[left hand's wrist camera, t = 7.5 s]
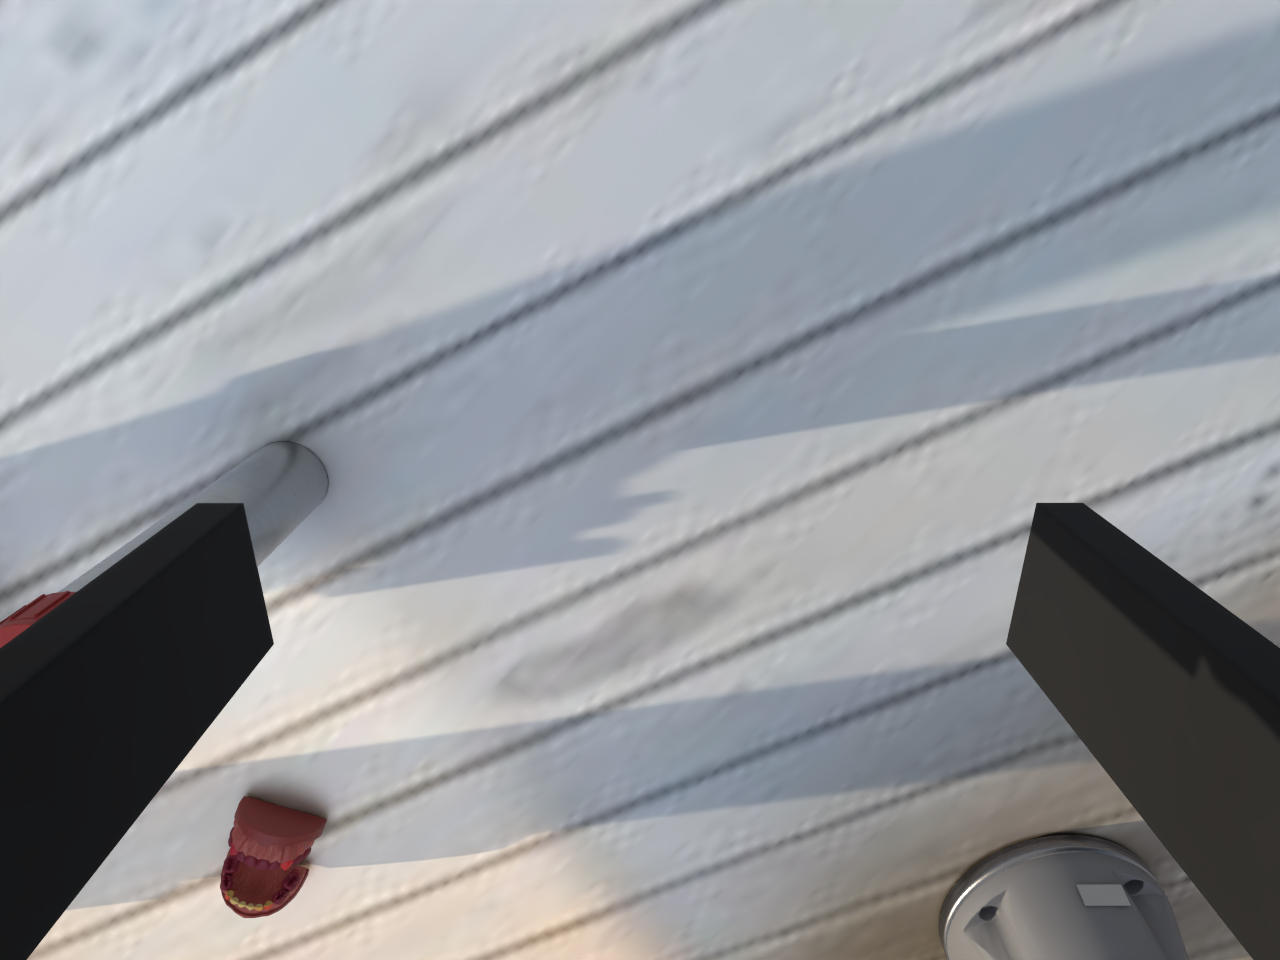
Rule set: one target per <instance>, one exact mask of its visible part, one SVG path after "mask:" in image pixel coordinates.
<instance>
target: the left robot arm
mask: <svg viewBox="0 0 1280 960" xmlns="http://www.w3.org/2000/svg"><path fill="white" fill-rule="evenodd" d="M273 644H274V643H273V638H272V634H271V629H270V624H269V620H268V615H267V610H266V606H265V601H264V596H263V592H262V587H261V582H260V578H259V573H258V568H257V564H256V559H255V555H254V550H253V545H252V541H251V536H250V531H249V527H248V522H247V517H246V513H245V508H244V503H196V504H195V505H194V506H192V507H191V508H190V509H188V510H187V511H186V512H184V513H183V514H182V515H180V516H179V517H177V518H176V519H175V520H173V521H172V522H171V523H169V524H168V525H167V526H165V527H164V528H163V529H161V530H160V531H159V532H157V533H156V534H154V535H153V536H152V537H150V538H149V539H148V540H146V541H145V542H144V543H142V544H141V545H140V546H138V547H137V548H135V549H134V550H133V551H131V552H130V553H129V554H127V555H126V556H125V557H123V558H122V559H121V560H119V561H118V562H116V563H115V564H114V565H112V566H111V567H110V568H108V569H107V570H106V571H104V572H103V573H102V574H100V575H99V576H98V577H96V578H95V579H93V580H92V581H91V582H89V583H88V584H87V585H85V586H84V587H83V588H81V589H80V590H79V591H77V592H76V593H74V594H73V595H72V596H70V597H69V598H68V599H66V600H65V601H64V602H62V603H61V604H60V605H58V606H57V607H55V608H54V609H53V610H51V611H50V612H49V613H47V614H46V615H45V616H43V617H42V618H41V619H39V620H38V621H37V622H35V623H34V624H32V625H31V626H30V627H28V628H27V629H26V630H24V631H23V632H22V633H20V634H19V635H18V636H16V637H15V638H13V639H12V640H11V641H9V642H8V643H7V644H5V645H4V646H3V647H1V648H0V960H27V958H28V957H29V956H30V955H31V953H32V952H33V951H34V949H35V948H36V947H37V946H38V944H39V943H40V942H41V940H42V939H43V938H44V937H45V935H46V934H47V933H48V932H49V930H50V929H51V928H52V926H53V925H54V924H55V923H56V921H57V920H58V919H59V917H60V916H61V915H62V914H63V912H64V911H65V910H66V909H67V907H68V906H69V905H70V903H71V902H72V901H73V900H74V898H75V897H76V896H77V895H78V893H79V892H80V891H81V889H82V888H83V887H84V886H85V884H86V883H87V882H88V880H89V879H90V878H91V877H92V875H93V874H94V873H95V872H96V870H97V869H98V868H99V866H100V865H101V864H102V863H103V861H104V860H105V859H106V857H107V856H108V855H109V854H110V852H111V851H112V850H113V849H114V847H115V846H116V845H117V843H118V842H119V841H120V840H121V838H122V837H123V836H124V834H125V833H126V832H127V831H128V829H129V828H130V827H131V826H132V824H133V823H134V822H135V820H136V819H137V818H138V817H139V815H140V814H141V813H142V812H143V810H144V809H145V808H146V806H147V805H148V804H149V803H150V801H151V800H152V799H153V797H154V796H155V795H156V794H157V792H158V791H159V790H160V789H161V787H162V786H163V785H164V783H165V782H166V781H167V780H168V778H169V777H170V776H171V774H172V773H173V772H174V771H175V769H176V768H177V767H178V766H179V764H180V763H181V762H182V760H183V759H184V758H185V757H186V755H187V754H188V753H189V752H190V750H191V749H192V748H193V746H194V745H195V744H196V743H197V741H198V740H199V739H200V737H201V736H202V735H203V734H204V732H205V731H206V730H207V729H208V727H209V726H210V725H211V723H212V722H213V721H214V720H215V718H216V717H217V716H218V714H219V713H220V712H221V711H222V709H223V708H224V707H225V706H226V704H227V703H228V702H229V700H230V699H231V698H232V697H233V695H234V694H235V693H236V691H237V690H238V689H239V688H240V686H241V685H242V684H243V683H244V681H245V680H246V679H247V677H248V676H249V675H250V674H251V672H252V671H253V670H254V669H255V667H256V666H257V665H258V663H259V662H260V661H261V660H262V658H263V657H264V656H265V654H266V653H267V652H268V651H269V649H270V648H271V647H272V646H273ZM1006 644H1007V646H1008V647H1009V648H1010V649H1011V651H1012V652H1013V653H1014V654H1015V656H1016V657H1017V658H1018V660H1019V661H1020V662H1021V663H1022V665H1023V666H1024V667H1025V669H1026V670H1027V671H1028V672H1029V674H1030V675H1031V676H1032V677H1033V679H1034V680H1035V681H1036V683H1037V684H1038V685H1039V686H1040V688H1041V689H1042V690H1043V691H1044V693H1045V694H1046V695H1047V697H1048V698H1049V699H1050V700H1051V702H1052V703H1053V704H1054V706H1055V707H1056V708H1057V709H1058V711H1059V712H1060V713H1061V714H1062V716H1063V717H1064V718H1065V720H1066V721H1067V722H1068V723H1069V725H1070V726H1071V727H1072V729H1073V730H1074V731H1075V732H1076V734H1077V735H1078V736H1079V737H1080V739H1081V740H1082V741H1083V743H1084V744H1085V745H1086V746H1087V748H1088V749H1089V750H1090V752H1091V753H1092V754H1093V755H1094V757H1095V758H1096V759H1097V760H1098V762H1099V763H1100V764H1101V766H1102V767H1103V768H1104V769H1105V771H1106V772H1107V773H1108V774H1109V776H1110V777H1111V778H1112V780H1113V781H1114V782H1115V783H1116V785H1117V786H1118V787H1119V789H1120V790H1121V791H1122V792H1123V794H1124V795H1125V796H1126V797H1127V799H1128V800H1129V801H1130V803H1131V804H1132V805H1133V806H1134V808H1135V809H1136V810H1137V812H1138V813H1139V814H1140V815H1141V817H1142V818H1143V819H1144V820H1145V822H1146V823H1147V824H1148V826H1149V827H1150V828H1151V829H1152V831H1153V832H1154V833H1155V835H1156V836H1157V837H1158V838H1159V840H1160V841H1161V842H1162V843H1163V845H1164V846H1165V847H1166V849H1167V850H1168V851H1169V852H1170V854H1171V855H1172V856H1173V857H1174V859H1175V860H1176V861H1177V863H1178V864H1179V865H1180V866H1181V868H1182V869H1183V870H1184V872H1185V873H1186V874H1187V875H1188V877H1189V878H1190V879H1191V880H1192V882H1193V883H1194V884H1195V886H1196V887H1197V888H1198V889H1199V891H1200V892H1201V893H1202V895H1203V896H1204V897H1205V898H1206V900H1207V901H1208V902H1209V903H1210V905H1211V906H1212V907H1213V909H1214V910H1215V911H1216V912H1217V914H1218V915H1219V916H1220V917H1221V919H1222V920H1223V921H1224V923H1225V924H1226V925H1227V926H1228V928H1229V929H1230V930H1231V932H1232V933H1233V934H1234V935H1235V937H1236V938H1237V939H1238V940H1239V942H1240V943H1241V944H1242V946H1243V947H1244V948H1245V949H1246V951H1247V952H1248V953H1249V955H1250V956H1251V957H1252V958H1253V960H1280V648H1279V647H1277V646H1276V645H1275V644H1273V643H1272V642H1271V641H1269V640H1268V639H1267V638H1265V637H1264V636H1262V635H1261V634H1260V633H1258V632H1257V631H1256V630H1254V629H1253V628H1252V627H1250V626H1249V625H1248V624H1246V623H1245V622H1243V621H1242V620H1241V619H1239V618H1238V617H1237V616H1235V615H1234V614H1233V613H1231V612H1230V611H1229V610H1227V609H1226V608H1225V607H1223V606H1222V605H1220V604H1219V603H1218V602H1216V601H1215V600H1214V599H1212V598H1211V597H1210V596H1208V595H1207V594H1206V593H1204V592H1203V591H1201V590H1200V589H1199V588H1197V587H1196V586H1195V585H1193V584H1192V583H1191V582H1189V581H1188V580H1187V579H1185V578H1184V577H1182V576H1181V575H1180V574H1178V573H1177V572H1176V571H1174V570H1173V569H1172V568H1170V567H1169V566H1168V565H1166V564H1165V563H1164V562H1162V561H1161V560H1159V559H1158V558H1157V557H1155V556H1154V555H1153V554H1151V553H1150V552H1149V551H1147V550H1146V549H1145V548H1143V547H1142V546H1140V545H1139V544H1138V543H1136V542H1135V541H1134V540H1132V539H1131V538H1130V537H1128V536H1127V535H1126V534H1124V533H1123V532H1121V531H1120V530H1119V529H1117V528H1116V527H1115V526H1113V525H1112V524H1111V523H1109V522H1108V521H1107V520H1105V519H1104V518H1103V517H1101V516H1100V515H1098V514H1097V513H1096V512H1094V511H1093V510H1092V509H1090V508H1089V507H1088V506H1086V505H1085V504H1084V503H1036V508H1035V513H1034V517H1033V522H1032V527H1031V531H1030V536H1029V541H1028V545H1027V550H1026V555H1025V559H1024V564H1023V568H1022V573H1021V578H1020V582H1019V587H1018V592H1017V596H1016V601H1015V606H1014V610H1013V615H1012V620H1011V624H1010V629H1009V634H1008V638H1007V643H1006ZM939 935H940V939H941V942H942V945H943V947H944V950H945V953H946V955H947V958H948V960H1189V958H1188V955H1187V952H1186V949H1185V946H1184V943H1183V940H1182V937H1181V934H1180V931H1179V928H1178V925H1177V922H1176V920H1175V917H1174V914H1173V911H1172V908H1171V905H1170V903H1169V901H1168V899H1167V897H1166V895H1165V893H1164V891H1163V889H1162V887H1161V886H1160V884H1159V883H1158V881H1157V880H1156V879H1155V877H1154V876H1153V875H1152V873H1151V872H1150V871H1149V869H1148V868H1147V867H1146V865H1145V864H1144V863H1143V862H1142V861H1141V860H1140V859H1139V858H1138V857H1137V856H1136V855H1135V854H1133V853H1132V852H1131V851H1129V850H1127V849H1126V848H1124V847H1122V846H1120V845H1118V844H1116V843H1113V842H1110V841H1107V840H1104V839H1100V838H1096V837H1090V836H1083V835H1055V836H1046V837H1040V838H1035V839H1031V840H1027V841H1023V842H1020V843H1017V844H1014V845H1011V846H1009V847H1006V848H1004V849H1002V850H1000V851H997V852H995V853H994V854H992V855H990V856H988V857H986V858H985V859H983V860H982V861H980V862H979V863H977V864H976V865H975V866H973V867H972V868H971V869H970V870H969V871H967V872H966V873H965V874H964V875H963V876H962V877H961V878H960V879H959V880H958V881H957V883H956V884H955V885H954V886H953V888H952V889H951V890H950V892H949V894H948V895H947V897H946V899H945V901H944V903H943V906H942V909H941V912H940V917H939Z"/></svg>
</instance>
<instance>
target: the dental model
mask: <svg viewBox="0 0 1280 960" xmlns="http://www.w3.org/2000/svg"><path fill="white" fill-rule="evenodd" d="M326 821H327V820H326V819H324V818H320V817H317V816H314V815H310V814H307V813H303V812H300V811H297V810H293V809H290V808H286V807H283V806H279V805H276V804H272V803H269V802H265V801H261V800H258V799H254V798H251V797H247V796H244V797H243V798H242V800H241V801H240V803H239V805H238V808H237V811H236V813H235V820H234V827H233V828H232V830H231V832H230V837H229V840H228V843H229V846H230V847H231V848H230V850H229V852H228V855H227V857H226V859H225V861H224V865H223V869H222V874H221V884H220V889H221V892H222V896H223V899H224V901H225V903H226V905H227V906H229V907H230V908H231V909H232V910H233V911H234V912H235V913H237V914H238V915H240V916H241V917H243V918H257V917H262V916H269V915H271V914H273V913H275V912H277V911H279V910H281V909H282V908H284V907H285V906H286V905H287V904H288V903H289V902H290V901H291V900H292V899H293V898H294V897H295V896H296V895H297V893H298V892H299V890H300V889H301V887H302V885H303V884H304V882H305V880H306V878H307V876H308V872H309V869H307V868H305V867H301V866H297V865H296V864H297V863H300V862H301V861H302V860H304V859H305V858H306V857H307V856H308V855H309V854H310V852H311V846H312V845H313V843H314V840H315V839H317V838H318V837H320V836H321V834H322V832H323V829H324V826H325V824H326ZM292 864H295V865H292Z"/></svg>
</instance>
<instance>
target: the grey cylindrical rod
mask: <svg viewBox="0 0 1280 960" xmlns="http://www.w3.org/2000/svg"><path fill="white" fill-rule="evenodd" d="M327 489H328V477H327V473H326V470H325V468H324V466H323V464H322V462H321V461H320V460H319V458H318V457H317V456H316V455H315V454H314V453H313V452H311V451H310V450H308V449H307V448H305V447H303V446H301V445H299V444H295V443H291V442H274V443H271V444H268V445H266V446H264V447H263V448H261V449H260V450H259V451H257V452H256V453H254V454H253V455H251V456H250V457H249V458H247V459H246V460H244V461H243V462H242V463H240V464H239V465H237V466H236V467H235V468H233V469H232V470H230V471H229V472H227V473H226V474H225V475H223V476H222V477H220V478H219V479H218V480H216V481H215V482H213V483H212V484H210V485H209V486H208V487H206V488H205V489H203V490H202V491H201V492H199V493H198V494H196V495H195V496H194V497H192V498H191V499H189V500H188V501H186V502H185V503H184V504H182V505H181V506H179V507H178V508H177V509H175V510H174V511H172V512H171V513H170V514H168V515H167V516H165V517H164V518H162V519H161V520H160V521H158V522H157V523H155V524H154V525H153V526H151V527H150V528H148V529H147V530H146V531H144V532H143V533H141V534H140V535H138V536H137V537H136V538H134V539H133V540H131V541H130V542H129V543H127V544H126V545H124V546H123V547H122V548H120V549H119V550H117V551H116V552H114V553H113V554H112V555H110V556H109V557H107V558H106V559H105V560H103V561H102V562H100V563H99V564H98V565H96V566H95V567H93V568H92V569H90V570H89V571H88V572H86V573H85V574H83V575H82V576H81V577H79V578H78V579H76V580H75V581H74V582H72V583H71V584H69V585H68V586H66V587H65V588H64V589H62V590H61V591H59V592H65V591H69V592H77V591H79V590H80V589H81V588H83V587H84V586H85V585H87V584H88V583H89V582H91V581H92V580H93V579H95V578H96V577H98V576H99V575H100V574H102V573H103V572H104V571H106V570H107V569H108V568H110V567H111V566H112V565H114V564H115V563H116V562H118V561H119V560H121V559H122V558H123V557H125V556H126V555H127V554H129V553H130V552H131V551H133V550H134V549H135V548H137V547H138V546H140V545H141V544H142V543H144V542H145V541H146V540H148V539H149V538H150V537H152V536H153V535H154V534H156V533H157V532H159V531H160V530H161V529H163V528H164V527H165V526H167V525H168V524H169V523H171V522H172V521H173V520H175V519H176V518H177V517H179V516H180V515H182V514H183V513H184V512H186V511H187V510H188V509H190V508H191V507H192V506H194V505H195V504H196V503H244V508H245V513H246V517H247V522H248V527H249V531H250V536H251V541H252V545H253V550H254V555H255V559H256V564H257V567H258V566H259V565H260V564H261V563H262V562H263V561H264V560H265V559H266V557H267V556H268V555H269V554H270V553H271V552H272V551H273V550H274V549H275V548H276V547H277V546H278V545H279V544H280V543H281V542H282V541H283V540H284V539H285V538H286V537H287V536H288V535H289V534H290V533H291V532H292V531H293V530H294V529H295V528H296V527H297V526H298V525H299V524H300V523H301V522H302V521H303V520H304V519H305V518H306V517H307V516H308V515H309V514H310V513H311V512H312V511H313V510H314V509H315V508H316V507H317V506H318V505H319V504H320V503H321V502H322V501H323V499H324V497H325V496H326V493H327Z"/></svg>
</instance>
